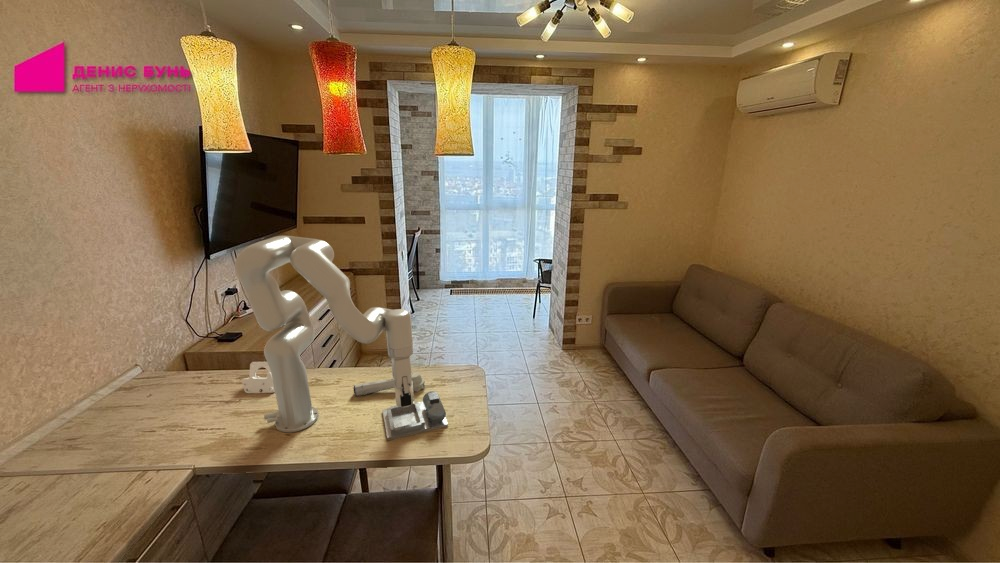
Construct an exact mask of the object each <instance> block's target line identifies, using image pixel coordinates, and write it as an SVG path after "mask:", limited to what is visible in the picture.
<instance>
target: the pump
mask: <svg viewBox="0 0 1000 563" xmlns="http://www.w3.org/2000/svg"><path fill="white" fill-rule="evenodd" d="M394 385H395V384H394ZM401 386H403V384H402V385H401ZM409 387H410V393H411V403H412V404H413V403H415V395H414V391H413V382H412V385H411V386H409ZM402 390H403V391H404V388H402ZM394 394H395V406H396V405H397V406H399V407H401V400H400V395H401V390H400V388H399V389H396V387H395V388H394ZM412 404H411V405H412ZM411 405H409V406H411ZM404 407H408V406H404Z"/></svg>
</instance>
